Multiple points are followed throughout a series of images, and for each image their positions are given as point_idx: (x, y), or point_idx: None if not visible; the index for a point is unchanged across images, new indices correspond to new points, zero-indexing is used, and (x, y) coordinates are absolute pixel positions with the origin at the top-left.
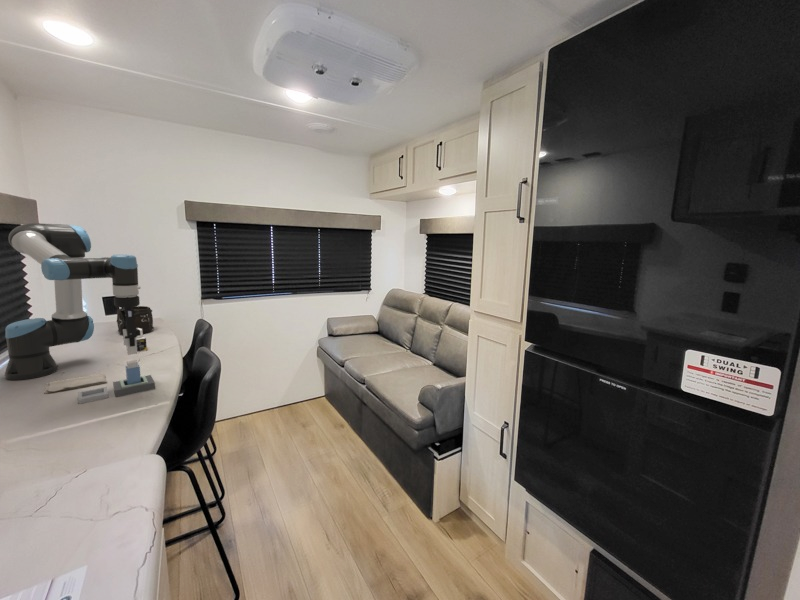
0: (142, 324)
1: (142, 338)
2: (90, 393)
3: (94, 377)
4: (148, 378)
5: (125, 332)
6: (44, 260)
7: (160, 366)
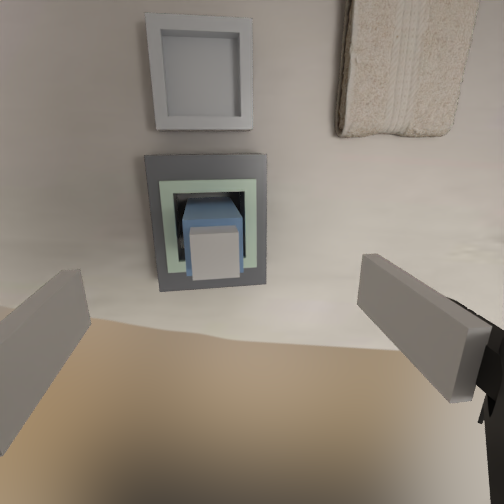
0: None
1: None
2: (239, 69)
3: (416, 93)
4: None
5: (433, 326)
6: None
7: None
